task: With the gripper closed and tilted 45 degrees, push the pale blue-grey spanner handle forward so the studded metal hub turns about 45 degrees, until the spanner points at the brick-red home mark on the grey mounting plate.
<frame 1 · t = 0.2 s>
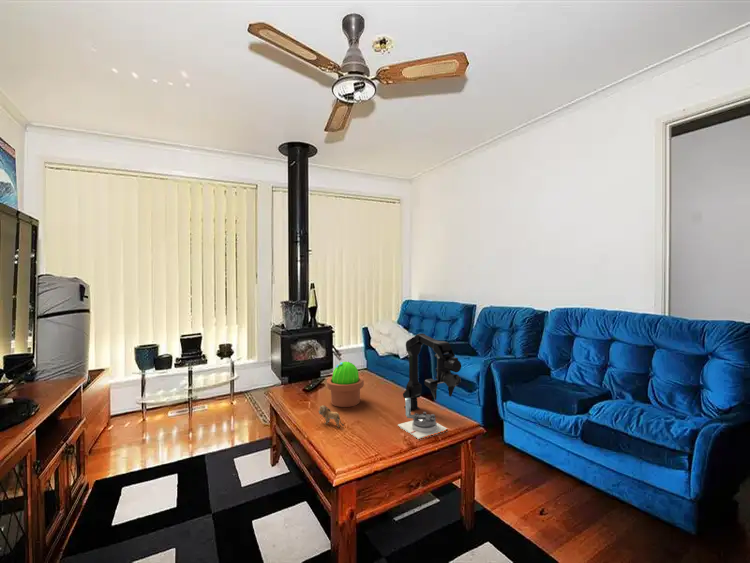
hand: (442, 397, 178), 14 cm above the table, tool pointing down, fingers open, 9 cm apart
potted cactus: (345, 402, 212), on the table
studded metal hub: (420, 410, 175), point 9 cm above the table, hinge at 0.0°
lion figurine: (330, 424, 182), on the table
mounting plate: (424, 429, 174), on the table
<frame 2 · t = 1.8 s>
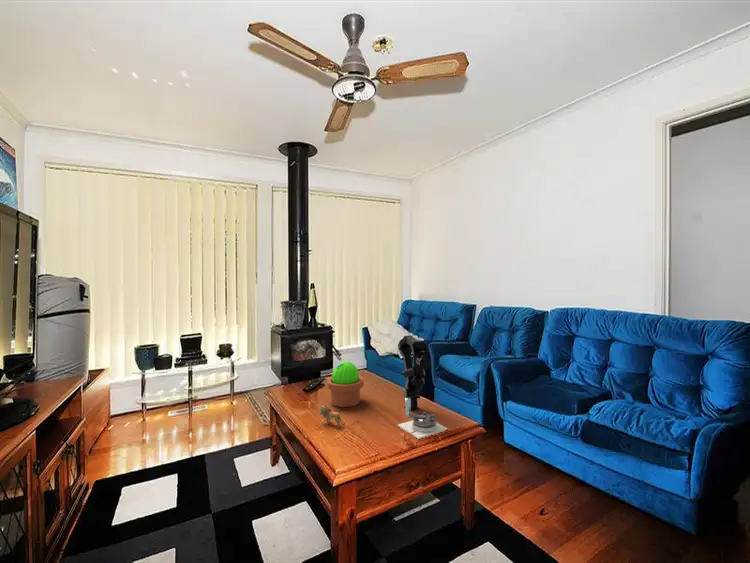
hand: (418, 393, 189), 13 cm above the table, tool pointing down, fingers closed
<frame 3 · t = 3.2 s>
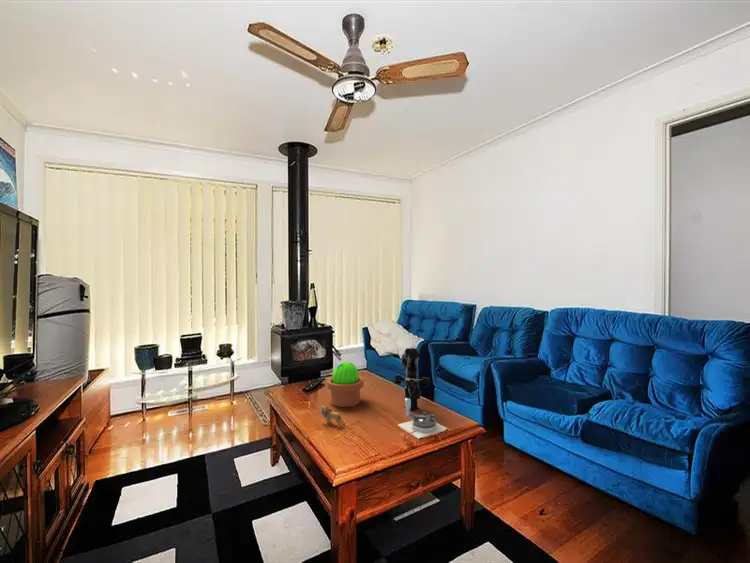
hand: (411, 395, 184), 13 cm above the table, tool tilted 45°, fingers closed
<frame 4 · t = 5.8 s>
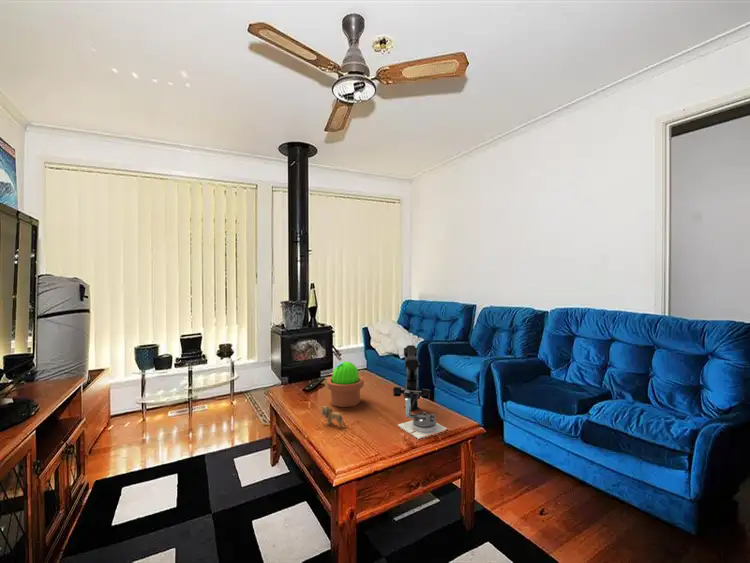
hand: (410, 408, 176), 9 cm above the table, tool tilted 45°, fingers closed
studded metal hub: (420, 410, 174), point 9 cm above the table, hinge at 0.4°, touching gripper
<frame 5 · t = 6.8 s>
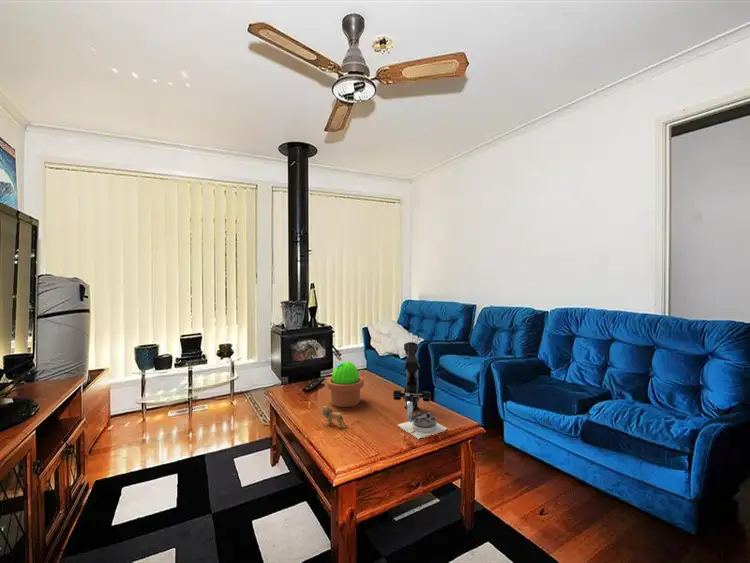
hand: (411, 412, 172), 9 cm above the table, tool tilted 45°, fingers closed, pressing on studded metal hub
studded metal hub: (420, 411, 173), point 9 cm above the table, hinge at 33.0°, touching gripper
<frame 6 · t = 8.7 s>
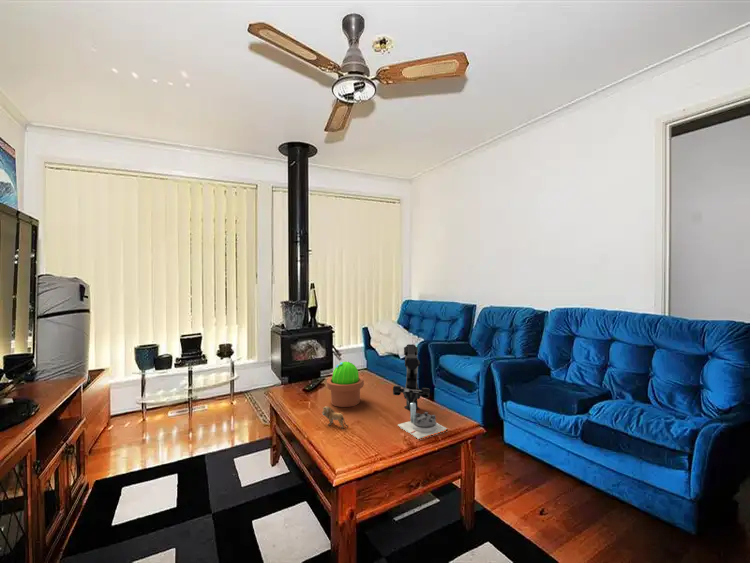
hand: (410, 407, 176), 10 cm above the table, tool tilted 45°, fingers closed
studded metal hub: (421, 412, 173), point 9 cm above the table, hinge at 50.6°
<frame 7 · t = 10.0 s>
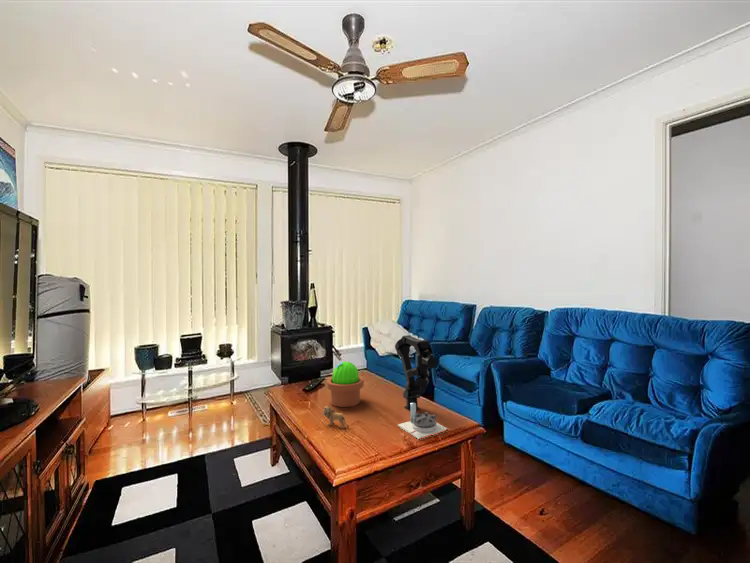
hand: (422, 392, 189), 13 cm above the table, tool pointing down, fingers closed
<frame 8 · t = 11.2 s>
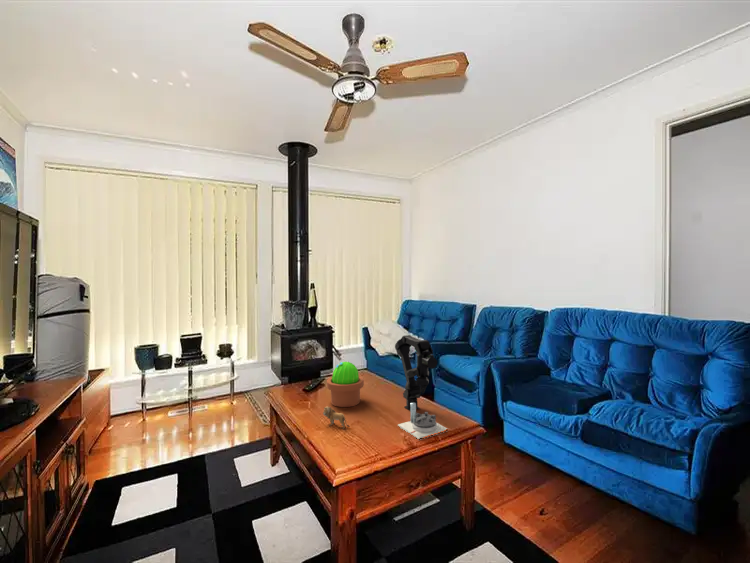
hand: (422, 393, 189), 13 cm above the table, tool pointing down, fingers closed
at the end: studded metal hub at +51° (first picture: +0°) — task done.
